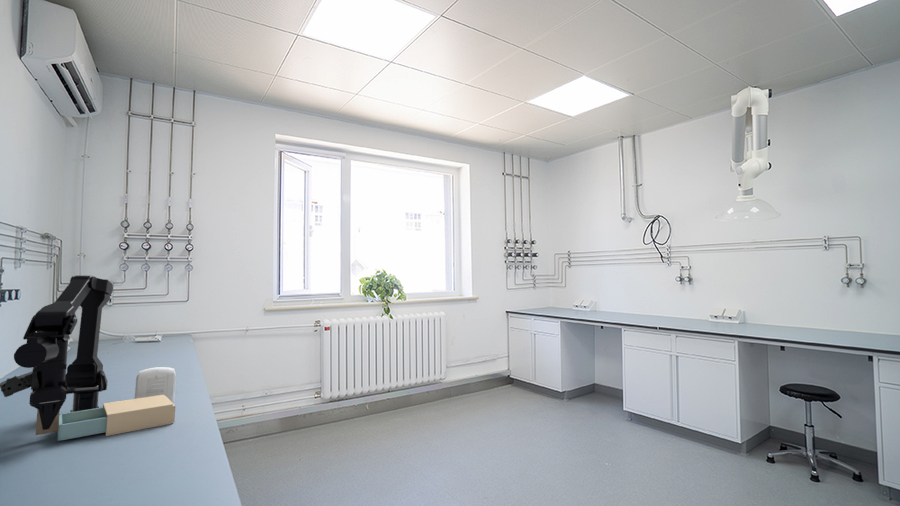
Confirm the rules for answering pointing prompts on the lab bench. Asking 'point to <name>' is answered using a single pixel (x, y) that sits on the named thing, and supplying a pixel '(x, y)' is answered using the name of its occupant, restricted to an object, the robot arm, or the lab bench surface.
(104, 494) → the lab bench surface
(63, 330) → the robot arm
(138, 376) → the white product package
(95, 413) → the tray
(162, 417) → the sleeve
